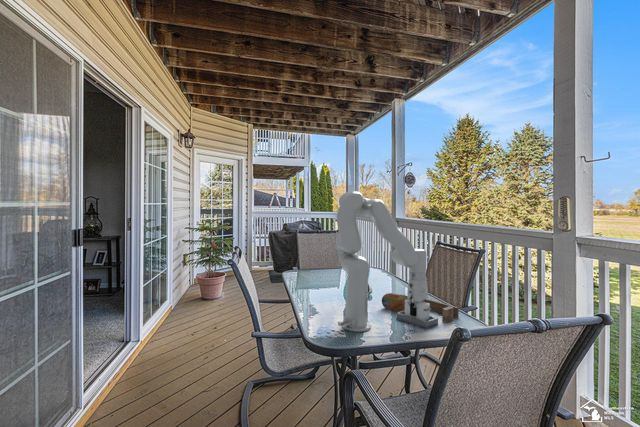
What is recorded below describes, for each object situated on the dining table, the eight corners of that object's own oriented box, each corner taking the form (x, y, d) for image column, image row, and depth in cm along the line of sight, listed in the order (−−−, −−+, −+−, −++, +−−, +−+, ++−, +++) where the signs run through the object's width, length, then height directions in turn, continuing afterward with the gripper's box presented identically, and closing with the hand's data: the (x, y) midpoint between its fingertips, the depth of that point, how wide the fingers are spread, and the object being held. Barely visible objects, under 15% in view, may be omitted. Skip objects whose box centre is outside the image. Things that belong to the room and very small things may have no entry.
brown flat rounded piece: (381, 308, 164) (381, 292, 164) (383, 306, 167) (383, 291, 167) (410, 313, 157) (410, 296, 157) (411, 311, 160) (412, 295, 160)
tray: (425, 329, 136) (425, 322, 136) (396, 319, 148) (396, 312, 148) (437, 324, 142) (438, 318, 142) (408, 314, 154) (408, 308, 154)
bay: (446, 322, 144) (446, 309, 144) (413, 312, 158) (413, 300, 158) (458, 317, 151) (458, 305, 151) (425, 308, 165) (425, 296, 165)
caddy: (425, 321, 139) (425, 306, 138) (404, 314, 147) (404, 300, 147) (431, 319, 142) (432, 304, 142) (410, 312, 151) (411, 298, 150)
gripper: (413, 279, 137) (412, 320, 137) (435, 274, 147) (434, 312, 147) (399, 276, 142) (398, 315, 143) (421, 272, 153) (420, 308, 153)
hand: (416, 313), depth 145 cm, fingers closed on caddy, 4 cm apart
